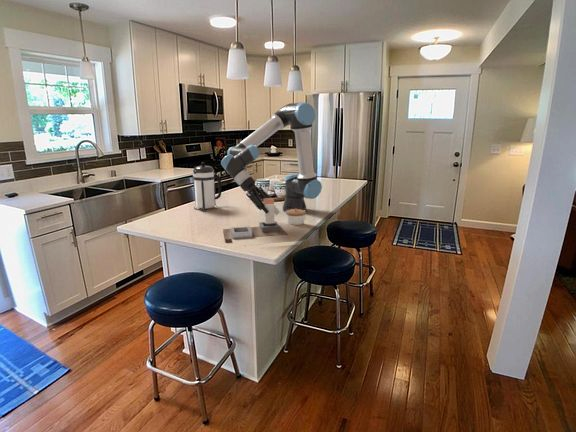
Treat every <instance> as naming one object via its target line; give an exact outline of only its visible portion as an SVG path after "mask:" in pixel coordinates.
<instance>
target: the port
mask: <svg viewBox="0 0 576 432" xmlns="http://www.w3.org/2000/svg"><path fill="white" fill-rule="evenodd" d="M250 227H251V226H250V225H249V226H248V225H247V226H234V227H230V228H229V229H230V232H231V236H232V240H235V238H239V239H249V238H248V237H252V230H251V228H250ZM252 238H253V237H252Z"/></svg>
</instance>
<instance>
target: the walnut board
mask: <svg viewBox="0 0 576 432" xmlns="http://www.w3.org/2000/svg"><path fill="white" fill-rule="evenodd" d="M279 226H280V231H273V232H262V231H261V229H260V227H259V226H250V228H251V230H252V237H248V238H247V239H251V238H264V237H275V236H277V237H279V236H288V233H287V231H286V230H285V229H284V227H283V226H282V225H281V224H279ZM222 232H223V238H224V243H232V242H233V239H232V236H231V232H230V228H222ZM235 239H240V238H235ZM235 239H234V240H235Z"/></svg>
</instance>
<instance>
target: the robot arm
mask: <svg viewBox="0 0 576 432" xmlns="http://www.w3.org/2000/svg"><path fill="white" fill-rule="evenodd" d="M315 119H316V111H315V108H314V106H313V105H311V103H309V102H303V101H302V102H295V103H293V102H291V103H288V104H287V103H286V104H285V105H284V106H282V107H281V108H279V109H278V110H277V111H275V112H274V113H273V114H272V115H271V118H270V119H268V120H266V121H265V123H263V124H262V125H261V126H259V127H258V128H257V129H256V130H255V131H253V132H251V133H250V134H249V135H248V136H247V137H245V138H244V139H243V140H241V141H240V142H238V144H236V145H234V146H231V147H229V148H228V150H227V151H226V154H227V155H225V156H224V157H223V158H222V160H221V161H220V166H222V168H223V169H224V170H225V171H226V173H228V175H229V176H230V177H231V178H232V179H233V181H235V183H236V184H237V185H238V186H239V187H240V188H241V190H242V191H243V192H247V193H246V194H245V196H247V198H249V199H250V201H251V202H252V204H254V206H255V207H256V208H257V209H258V210H259V211H261V210H262V211H263V213H264V212H265V213H266V214H267V215H268V217H269V218H270V219H272V218H273V217H274V218H275V216H278V215H279V214H280V213H281V210H279V208H277V206H276V205H275V204H274V214H273V213H272V211H271V210H270V209H269V208H268V207H267V206H265V205H264V201H263V198H271V196H270V195H269V194H268V193H267V192H266V191H265V190H264V189H263V187H262V186H259V187H258V186H257V185H256V180H255V178H253V177H252V176H251V174H250V173H249V172H248V171H247V169H245V168H246V167H247V166H248V165H250V164H251V163H252V162H255V160H257V159H258V158H259V157H260V151H259V150H258V148H257V147H259V146H260V145H261V144H263V143H264V142H265V141H266V140H268V139H269V138H270V137H271V136H273V135H274V134H275V133H277V132H278V131H280V130H283V129H285V128H286V127H288V126H291V130H292V131H293V132H294V138H295V139H294V140H295V145H296V146H295V147H296V157H297V163H298V164H297V166H298V173H289V174H287V175H286V176H285V180H284V181H285V188H284V189H285V195H284V196H285V198H284V201H283V205H282V211H283V210H284V211H283V212H285V211H287V210H291V209H295V208H297V209H300V210H306V211H307V205H306V201H305V199H307V200H312V199H316V198H317V197H318V196H319V195H320V194H321V192H322V188H323V185H322V183H321V181H320V180H319V179H318V175H317V173H316V172H315V169H314V160H313V159H314V158H313V150H312V137H311V129H312V128H313V123H314V121H315ZM304 198H305V199H304Z"/></svg>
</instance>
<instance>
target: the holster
mask: <svg viewBox="0 0 576 432" xmlns="http://www.w3.org/2000/svg"><path fill="white" fill-rule="evenodd" d="M258 224H259V226H258V227H260V229H261V231H262V232H273V231H280V226H279V225H280V224H279V223H278V222H277V221H276V220H274V223H269V224H265V222H264V221H260V222H259V223H258Z"/></svg>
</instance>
